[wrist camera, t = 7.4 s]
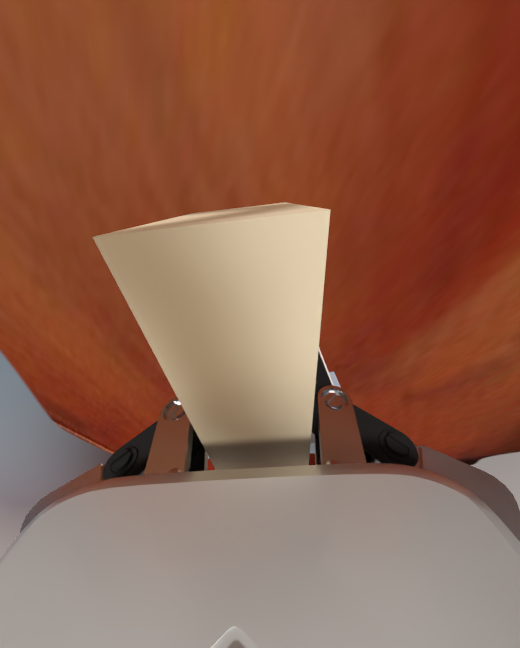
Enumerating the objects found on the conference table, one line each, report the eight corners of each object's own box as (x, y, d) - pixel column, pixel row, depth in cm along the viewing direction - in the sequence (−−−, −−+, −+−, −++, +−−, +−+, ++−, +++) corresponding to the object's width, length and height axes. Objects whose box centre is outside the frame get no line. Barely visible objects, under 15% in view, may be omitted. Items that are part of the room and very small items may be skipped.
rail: (286, 202, 8) (333, 209, 3) (291, 430, 18) (304, 521, 13) (191, 213, 8) (89, 237, 3) (247, 433, 18) (243, 524, 13)
